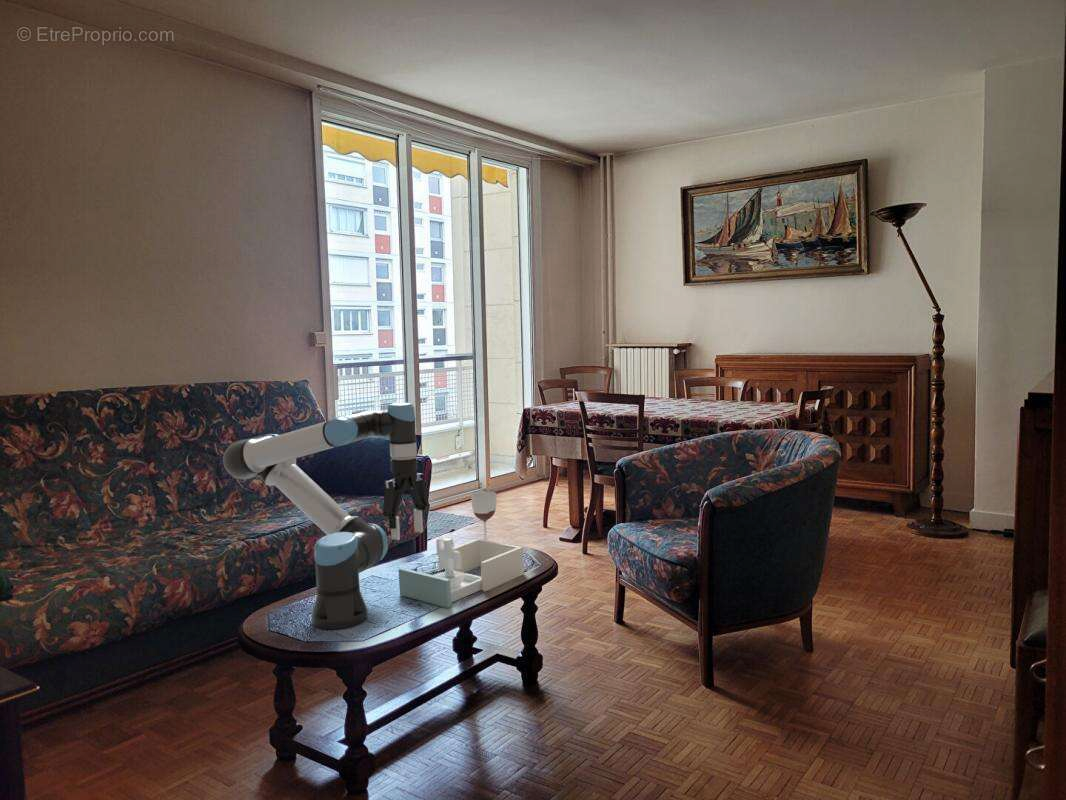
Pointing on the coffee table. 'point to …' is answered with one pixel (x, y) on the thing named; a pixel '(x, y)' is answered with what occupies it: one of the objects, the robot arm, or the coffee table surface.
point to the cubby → (490, 561)
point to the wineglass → (484, 506)
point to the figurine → (450, 562)
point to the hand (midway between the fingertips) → (407, 535)
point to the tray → (435, 587)
